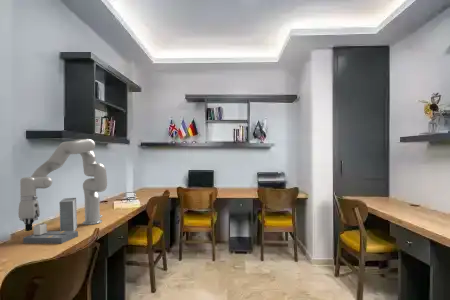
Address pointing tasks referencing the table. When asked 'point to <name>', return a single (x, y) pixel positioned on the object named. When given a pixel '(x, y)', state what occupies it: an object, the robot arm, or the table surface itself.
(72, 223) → the hard drive box
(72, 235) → the platform
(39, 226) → the fader knob
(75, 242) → the table surface
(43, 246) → the table surface
